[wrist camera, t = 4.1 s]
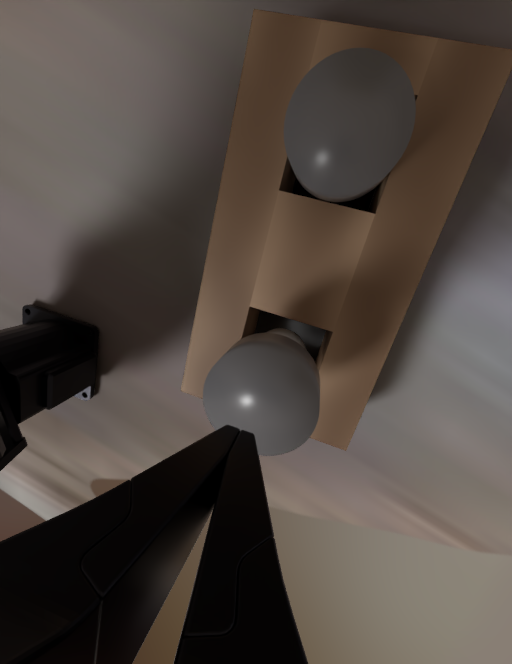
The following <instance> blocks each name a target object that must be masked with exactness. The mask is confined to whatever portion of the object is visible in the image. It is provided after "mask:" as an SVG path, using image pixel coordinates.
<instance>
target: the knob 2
mask: <svg viewBox="0 0 512 664" xmlns="http://www.w3.org/2000/svg"><path fill="white" fill-rule="evenodd" d="M415 114H416V104H415V96H414V91H413V87H412V85H411V82H410V80H409V78H408V76H407V74H406V72H405V71H404V69H403V68H402V67H401V66H400V64H398V63H397V62H396V61H395V60H394V59H393V58H391V57H390V56H388V55H387V54H385V53H383V52H381V51H378V50H374V49H370V48H350V49H346V50H342V51H339V52H336V53H334V54H332V55H330V56H328V57H326V58H324V59H323V60H322V61H320V62H319V63H317V64H316V65H315V66H314V67H313V68H312V69H311V70H310V71H309V72H308V73H307V74H306V75H305V76H304V77H303V79H302V80H301V82H300V83H299V84H298V86H297V88H296V89H295V91H294V93H293V95H292V97H291V100H290V102H289V105H288V108H287V111H286V116H285V121H284V143H285V149H286V153H287V156H288V159H289V161H290V164H291V166H292V169H293V171H294V173H295V176H296V178H297V179H298V181H299V183H300V184H301V185H302V186H303V188H304V189H305V190H307V191H308V192H309V193H310V194H312V195H313V196H315V197H317V198H319V199H322V200H325V201H329V202H346V201H350V200H354V199H357V198H359V197H361V196H363V195H365V194H367V193H368V192H370V191H371V190H373V189H374V188H375V187H376V186H377V185H379V184H380V182H381V181H382V180H383V179H384V178H385V177H386V176H387V174H388V173H389V172H390V171H391V170H392V169H393V167H394V166H395V165H396V164H397V162H398V161H399V159H400V158H401V157H402V155H403V153H404V151H405V150H406V148H407V145H408V143H409V141H410V138H411V135H412V132H413V128H414V123H415Z"/></svg>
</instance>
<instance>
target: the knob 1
mask: <svg viewBox="0 0 512 664" xmlns="http://www.w3.org/2000/svg"><path fill="white" fill-rule="evenodd" d="M203 403H204V408H205V412H206V414H207V417H208V419H209V421H210V423H211V424H212V426H213V427H214V429H215V430H218V429H219V428H221V427H223V426H225V425H231V426H234V427H237V428H239V429H240V431H241V430H245V431H248V432H251V433H253V434H254V435H255V439H256V445H257V450H258V455H263V456H274V455H281V454H284V453H288V452H290V451H292V450H294V449H296V448H298V447H300V446H301V445H302V444H303V443H305V442H306V441H307V439H308V438H309V437H310V436H311V434H312V433H313V431H314V429H315V427H316V425H317V422H318V419H319V411H320V375H319V371H318V368H317V366H316V363H315V361H314V360H313V358H312V357H311V355H310V354H309V353H308V352H307V350H306V347H305V344H304V342H303V340H302V339H301V338H300V337H299V336H298V335H297V334H296V333H295V332H293V331H291V330H288V329H284V328H276V329H272V330H269V331H268V332H266V333H257V334H253V335H249V336H247V337H244V338H242V339H241V340H239V341H238V342H236V343H235V344H234V345H233V346H232V347H231V348H230V349H229V350H228V351H227V352H226V353H225V354H224V355H223V356H222V357H221V358H220V359H219V360H218V361H217V363H216V364H215V365H214V366H213V367H212V368H211V370H210V371H209V373H208V375H207V377H206V380H205V383H204V388H203Z"/></svg>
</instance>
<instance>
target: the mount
mask: <svg viewBox="0 0 512 664" xmlns="http://www.w3.org/2000/svg"><path fill="white" fill-rule="evenodd" d="M350 48H370V49H374V50H378V51H381V52H383V53H385V54H387V55H388V56H390V57H391V58H393V59H394V60H395V61H396V62H397V63H398V64H400V66H401V67H402V68H403V69H404V71H405V72H406V74H407V76H408V78H409V80H410V82H411V85H412V87H413V91H414V96H415V104H416V114H415V123H414V128H413V132H412V135H411V138H410V141H409V143H408V145H407V148H406V150H405V151H404V153H403V155H402V157H401V158H400V159H399V161H398V162H397V164H396V165H395V166H394V167H393V169H392V170H391V171H390V172H389V173H388V174H387V176H386V177H385V178H384V179H383V180H382V181H381V182H380V184H379V185H377V186H376V189H375V192H374V195H373V198H372V200H371V203H370V206H369V209H368V212H365V211H361V210H357V209H353V208H349V207H345V206H341V205H337V204H333V203H329V202H325V201H320V200H316V199H312V198H308V197H304V196H300V195H296V194H292V190H293V186H294V182H295V179H296V176H295V173H294V171H293V169H292V166H291V164H290V161H289V159H288V156H287V153H286V149H285V143H284V121H285V116H286V111H287V108H288V105H289V102H290V100H291V97H292V95H293V93H294V91H295V89H296V88H297V86H298V84H299V83H300V82H301V80H302V79H303V77H304V76H305V75H306V74H307V73H308V72H309V71H310V70H311V69H312V68H313V67H314V66H315V65H316V64H317V63H319V62H320V61H322V60H323V59H324V58H326V57H328V56H330V55H332V54H334V53H336V52H339V51H342V50H346V49H350ZM511 70H512V49H505V48H499V47H492V46H486V45H480V44H473V43H467V42H461V41H454V40H448V39H442V38H435V37H429V36H422V35H416V34H410V33H403V32H397V31H391V30H384V29H378V28H372V27H365V26H359V25H352V24H346V23H340V22H333V21H327V20H321V19H314V18H308V17H301V16H295V15H289V14H282V13H276V12H270V11H263V10H257V9H254V11H253V16H252V22H251V27H250V32H249V37H248V42H247V48H246V53H245V58H244V63H243V68H242V74H241V79H240V84H239V89H238V94H237V100H236V105H235V110H234V115H233V121H232V126H231V131H230V136H229V141H228V147H227V152H226V157H225V162H224V167H223V173H222V178H221V183H220V188H219V194H218V199H217V204H216V209H215V214H214V220H213V225H212V230H211V235H210V240H209V246H208V251H207V256H206V261H205V266H204V272H203V277H202V282H201V287H200V293H199V298H198V303H197V308H196V313H195V319H194V324H193V329H192V334H191V339H190V345H189V350H188V355H187V360H186V366H185V371H184V376H183V381H182V386H181V391H182V392H185V393H187V394H190V395H193V396H196V397H199V398H201V399H203V388H204V383H205V380H206V377H207V375H208V373H209V371H210V370H211V368H212V367H213V366H214V365H215V364H216V363H217V361H218V360H219V359H220V358H221V357H222V356H223V355H224V354H225V353H226V352H227V351H228V350H229V349H230V348H231V347H232V346H233V345H234V344H235V343H236V342H238V341H239V340H241V339H242V338H244V337H247V336H249V335H253V334H254V333H255V329H256V325H257V322H258V318H259V314H260V310H263V311H266V312H270V313H273V314H276V315H279V316H283V317H286V318H289V319H292V320H296V321H299V322H302V323H306V324H309V325H312V326H315V327H319V328H322V329H325V330H326V332H325V335H324V338H323V341H322V344H321V346H320V349H319V352H318V355H317V358H316V361H315V363H316V366H317V368H318V371H319V375H320V411H319V419H318V422H317V425H316V427H315V429H314V431H313V433H312V434H311V436H310V437H309V438H312V439H315V440H318V441H320V442H323V443H326V444H329V445H332V446H334V447H337V448H340V449H343V450H345V451H346V450H347V447H348V445H349V443H350V440H351V438H352V436H353V434H354V431H355V429H356V427H357V424H358V422H359V420H360V417H361V415H362V413H363V411H364V408H365V406H366V404H367V401H368V399H369V397H370V394H371V392H372V390H373V388H374V385H375V383H376V381H377V378H378V376H379V374H380V371H381V369H382V367H383V364H384V362H385V360H386V358H387V355H388V353H389V351H390V348H391V346H392V344H393V341H394V339H395V337H396V335H397V332H398V330H399V328H400V325H401V323H402V321H403V318H404V316H405V314H406V312H407V309H408V307H409V305H410V302H411V300H412V298H413V295H414V293H415V291H416V288H417V286H418V284H419V282H420V279H421V277H422V275H423V272H424V270H425V268H426V265H427V263H428V261H429V259H430V256H431V254H432V252H433V249H434V247H435V245H436V242H437V240H438V238H439V236H440V233H441V231H442V229H443V226H444V224H445V222H446V219H447V217H448V215H449V212H450V210H451V208H452V206H453V203H454V201H455V199H456V196H457V194H458V192H459V189H460V187H461V185H462V183H463V180H464V178H465V176H466V173H467V171H468V169H469V166H470V164H471V162H472V160H473V157H474V155H475V153H476V150H477V148H478V146H479V143H480V141H481V139H482V136H483V134H484V132H485V130H486V127H487V125H488V123H489V120H490V118H491V116H492V113H493V111H494V109H495V107H496V104H497V102H498V100H499V97H500V95H501V93H502V90H503V88H504V86H505V84H506V81H507V79H508V77H509V74H510V72H511Z"/></svg>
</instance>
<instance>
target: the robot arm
mask: <svg viewBox="0 0 512 664" xmlns="http://www.w3.org/2000/svg"><path fill="white" fill-rule="evenodd" d="M90 331H91V332H92V334H91V332H90ZM98 337H99V331H98V329H97V328H96V327H95V326H93V325H91V324H88V323H85V322H82V321H79V320H76V319H73V318H70V317H67V316H64V315H61V314H58V313H55V312H53V311H50V310H47V309H44V308H41V307H38V306H35V305H31V304H30V305H25V306H24V307H23V325H19V326H15V327H11V328H7V329H3V330H0V471H1V470H2V469H3V468H4V467H5V466H6V465H7V464H8V463H9V462H10V461H11V460H13V459H14V458H15V457H16V456H17V455H18V454H19V453H20V452H21V451H22V450H23V449H24V448H25V447H26V446H27V442H26V439H25V437H23V436H22V434H21V431H20V429H19V426H18V424H19V423H21V422H23V421H25V420H26V419H28V418H30V417H32V416H33V415H35V414H37V413H39V412H40V411H42V410H44V409H48V410H50V409H52V408H54V407H55V406H57V405H59V404H60V403H62V402H64V401H66V400H67V399H69V398H71V397H72V396H75V397H77V398H80V399H82V400H86V401H87V400H89V399H91V398H92V397H93V396H94V386H95V373H96V361H97V349H98ZM213 507H214V508H213ZM212 510H213V512H212ZM211 512H212V516H211V520H210V523H209V527H208V531H207V535H206V539H205V543H204V547H203V551H202V555H201V559H200V562H199V566H198V570H197V574H196V578H195V582H194V586H193V590H192V594H191V597H190V602H189V605H188V609H187V613H186V617H185V621H184V625H183V629H182V633H181V636H180V640H179V644H178V648H177V652H176V656H175V660H174V664H308V662H307V658H306V655H305V651H304V648H303V645H302V642H301V639H300V635H299V632H298V629H297V626H296V622H295V619H294V616H293V613H292V609H291V606H290V602H289V598H288V595H287V592H286V588H285V584H284V581H283V576H282V572H281V567H280V563H279V559H278V554H277V549H276V543H275V539H274V538H273V537H274V533H273V528H272V523H271V518H270V513H269V507H268V502H267V497H266V492H265V486H264V481H263V476H262V471H261V465H260V460H259V455H258V450H257V445H256V439H255V435H254V434H253V433H251V432H248V431H245V430H241V431H240V429H239V428H237V427H234V426H231V425H225V426H223V427H221V428H219V429H218V430H216V431H214V432H212V433H211V434H209V435H207V436H205V437H204V438H202V439H200V440H198V441H197V442H195V443H193V444H191V445H189V446H188V447H186V448H184V449H182V450H181V451H179V452H177V453H175V454H174V455H172V456H170V457H168V458H166V459H165V460H163V461H161V462H159V463H158V464H156V465H154V466H152V467H151V468H149V469H147V470H145V471H143V472H142V473H140V474H138V475H136V476H135V477H133V478H132V479H131V480H127V481H126V482H124V483H122V484H120V485H119V486H117V487H115V488H113V489H111V490H109V491H108V492H106V493H104V494H102V495H100V496H98V497H96V498H94V499H92V500H90V501H88V502H86V503H84V504H82V505H80V506H78V507H76V508H74V509H71V510H69V511H67V512H65V513H63V514H61V515H59V516H56V517H54V518H52V519H50V520H47V521H45V522H43V523H41V524H39V525H37V526H34V527H32V528H30V529H28V530H25V531H23V532H21V533H19V534H16V535H14V536H12V537H10V538H8V539H6V540H3V541H1V542H0V664H132V663H133V661H134V659H135V657H136V655H137V653H138V651H139V650H140V648H141V646H142V644H143V642H144V640H145V638H146V636H147V634H148V632H149V630H150V629H151V626H152V625H153V623H154V621H155V619H156V617H157V615H158V613H159V611H160V610H161V608H162V606H163V604H164V602H165V600H166V598H167V596H168V594H169V592H170V590H171V589H172V587H173V585H174V583H175V581H176V579H177V577H178V575H179V573H180V571H181V570H182V568H183V566H184V564H185V562H186V560H187V558H188V556H189V554H190V552H191V550H192V549H193V547H194V545H195V543H196V541H197V539H198V537H199V535H200V533H201V531H202V529H203V528H204V526H205V523H206V522H207V520H208V518H209V516H210V514H211Z"/></svg>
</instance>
